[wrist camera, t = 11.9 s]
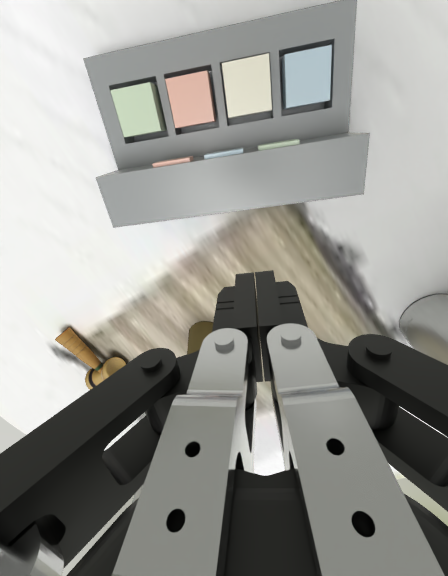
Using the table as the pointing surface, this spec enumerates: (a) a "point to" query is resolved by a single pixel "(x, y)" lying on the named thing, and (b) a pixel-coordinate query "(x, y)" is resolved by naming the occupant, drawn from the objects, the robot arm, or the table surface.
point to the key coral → (191, 99)
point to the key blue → (306, 77)
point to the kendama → (89, 359)
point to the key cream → (247, 86)
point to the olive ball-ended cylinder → (198, 335)
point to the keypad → (233, 124)
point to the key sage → (139, 109)
